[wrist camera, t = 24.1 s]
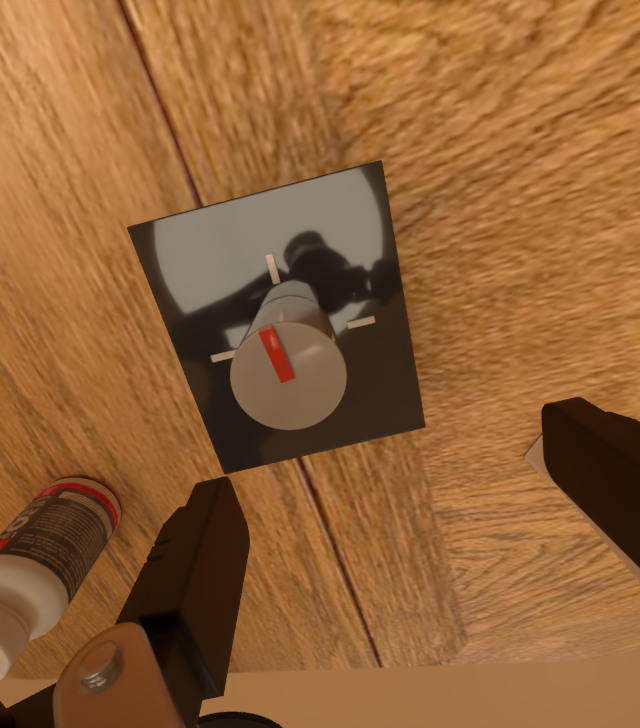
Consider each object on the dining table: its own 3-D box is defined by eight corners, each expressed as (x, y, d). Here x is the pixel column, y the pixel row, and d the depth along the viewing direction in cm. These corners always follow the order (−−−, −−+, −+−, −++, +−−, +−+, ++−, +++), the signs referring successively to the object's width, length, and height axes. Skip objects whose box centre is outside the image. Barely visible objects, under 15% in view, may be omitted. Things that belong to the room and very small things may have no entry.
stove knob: (346, 361, 20) (364, 411, 14) (270, 390, 20) (258, 449, 15) (316, 282, 18) (323, 305, 13) (234, 315, 19) (207, 350, 13)
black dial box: (411, 404, 24) (426, 429, 21) (233, 447, 25) (223, 476, 22) (370, 169, 20) (382, 158, 17) (150, 227, 20) (124, 227, 17)
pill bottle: (53, 462, 25) (-96, 602, 15) (134, 491, 26) (40, 639, 16) (32, 522, 26) (-115, 682, 17) (109, 547, 27) (10, 711, 18)
